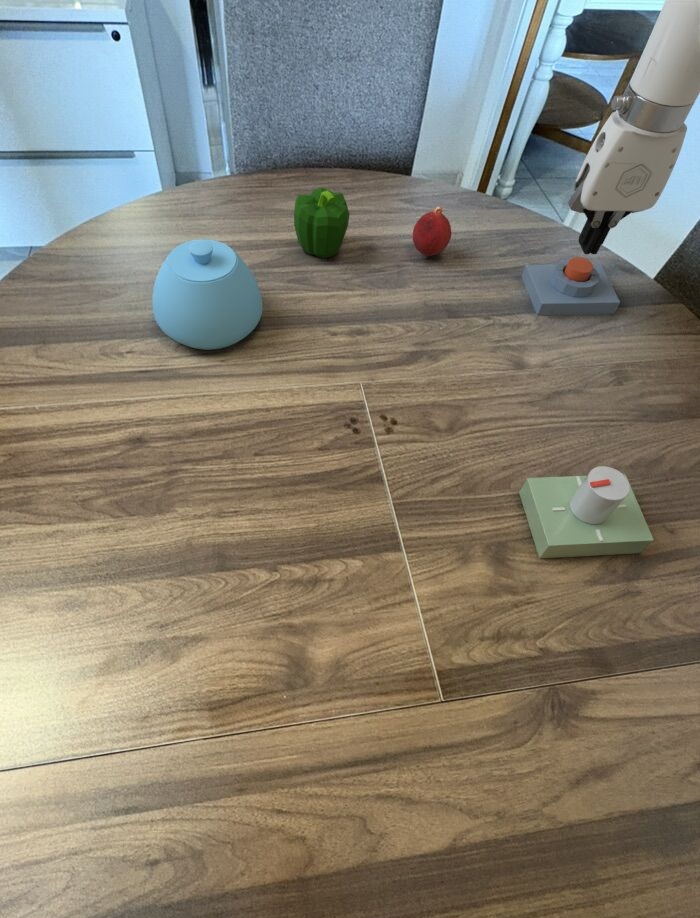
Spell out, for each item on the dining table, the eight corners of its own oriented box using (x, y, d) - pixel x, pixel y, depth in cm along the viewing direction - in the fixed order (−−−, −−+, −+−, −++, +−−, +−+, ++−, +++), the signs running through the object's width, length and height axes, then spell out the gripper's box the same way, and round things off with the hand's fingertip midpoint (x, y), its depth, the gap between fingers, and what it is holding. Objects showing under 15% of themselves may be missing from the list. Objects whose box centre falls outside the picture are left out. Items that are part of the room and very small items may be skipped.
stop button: (584, 267, 92) (588, 256, 90) (591, 282, 90) (596, 272, 88) (560, 267, 92) (565, 257, 90) (568, 282, 90) (572, 272, 88)
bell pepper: (291, 233, 99) (292, 171, 90) (341, 232, 100) (347, 170, 91) (295, 266, 94) (297, 204, 86) (348, 264, 95) (355, 203, 87)
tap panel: (614, 488, 75) (626, 472, 72) (640, 553, 70) (654, 539, 67) (518, 492, 74) (527, 476, 71) (539, 558, 69) (549, 545, 66)
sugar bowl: (282, 331, 86) (282, 259, 77) (187, 372, 81) (174, 300, 72) (229, 273, 93) (223, 199, 83) (137, 307, 88) (119, 233, 78)
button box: (594, 275, 97) (605, 253, 93) (613, 314, 92) (626, 292, 89) (521, 276, 96) (529, 254, 92) (536, 315, 91) (546, 293, 88)
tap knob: (598, 489, 71) (619, 461, 66) (615, 521, 68) (638, 495, 64) (563, 494, 70) (582, 467, 65) (579, 527, 68) (600, 501, 63)
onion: (427, 271, 95) (438, 224, 88) (401, 253, 97) (410, 205, 91) (452, 257, 97) (465, 210, 91) (426, 239, 100) (436, 192, 93)
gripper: (603, 123, 69) (543, 265, 84) (727, 126, 70) (646, 265, 86) (583, 91, 73) (529, 232, 88) (700, 94, 74) (627, 232, 90)
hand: (587, 248), depth 87 cm, fingers closed
